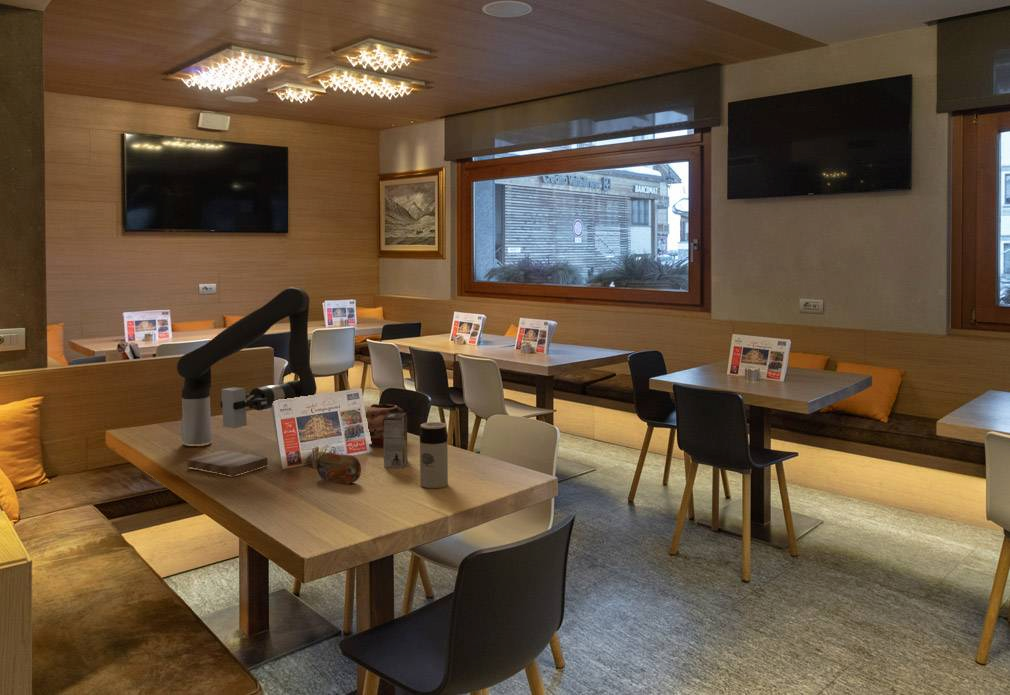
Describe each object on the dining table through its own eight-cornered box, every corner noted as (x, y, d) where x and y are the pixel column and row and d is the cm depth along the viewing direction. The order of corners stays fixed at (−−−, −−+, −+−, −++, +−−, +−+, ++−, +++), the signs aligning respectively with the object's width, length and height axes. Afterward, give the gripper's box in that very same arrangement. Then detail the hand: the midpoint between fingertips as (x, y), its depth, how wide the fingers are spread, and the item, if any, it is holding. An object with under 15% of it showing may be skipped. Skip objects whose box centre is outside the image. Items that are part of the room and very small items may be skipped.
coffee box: (388, 460, 254) (387, 412, 252) (407, 460, 254) (407, 412, 252) (383, 467, 245) (382, 418, 243) (403, 468, 245) (403, 418, 243)
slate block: (223, 426, 245) (221, 389, 244) (235, 423, 250) (233, 387, 248) (234, 428, 243) (233, 390, 242) (246, 425, 247) (245, 388, 246)
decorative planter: (388, 436, 290) (387, 399, 288) (415, 439, 284) (414, 402, 283) (354, 447, 272) (353, 408, 271) (382, 451, 266) (381, 411, 265)
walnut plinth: (187, 469, 244) (187, 459, 243) (223, 459, 256) (222, 450, 255) (233, 477, 234) (232, 467, 234) (267, 466, 246) (267, 457, 246)
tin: (316, 479, 232) (315, 452, 231) (323, 477, 235) (322, 449, 234) (356, 486, 225) (355, 458, 224) (362, 483, 228) (362, 455, 227)
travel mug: (433, 479, 231) (433, 420, 229) (453, 484, 226) (452, 424, 224) (414, 485, 225) (413, 425, 223) (434, 490, 220) (433, 428, 218)
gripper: (251, 384, 261) (210, 392, 246) (283, 387, 254) (243, 395, 239) (251, 406, 262) (211, 415, 247) (283, 410, 255) (244, 419, 240)
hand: (227, 405), depth 243 cm, fingers closed on slate block, 5 cm apart
